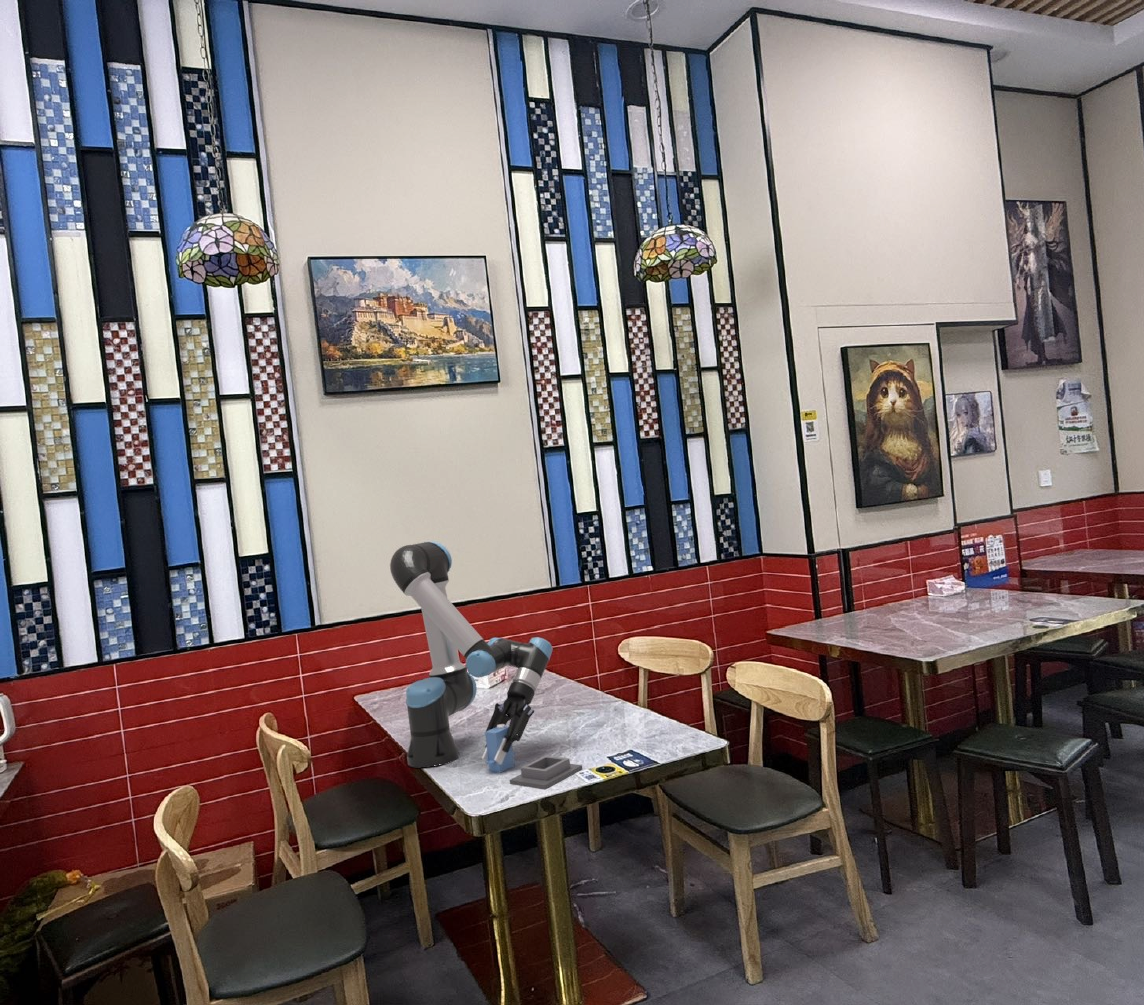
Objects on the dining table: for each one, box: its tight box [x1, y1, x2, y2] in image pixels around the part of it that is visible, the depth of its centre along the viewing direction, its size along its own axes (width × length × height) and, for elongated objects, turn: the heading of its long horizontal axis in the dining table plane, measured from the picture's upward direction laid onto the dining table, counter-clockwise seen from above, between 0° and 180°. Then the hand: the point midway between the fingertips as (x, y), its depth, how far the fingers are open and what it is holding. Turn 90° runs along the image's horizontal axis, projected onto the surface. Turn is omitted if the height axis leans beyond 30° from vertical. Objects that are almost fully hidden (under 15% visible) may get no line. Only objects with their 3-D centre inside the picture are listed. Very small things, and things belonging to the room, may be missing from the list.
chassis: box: [509, 755, 583, 790], centre depth 221 cm, size 16×12×4 cm
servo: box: [484, 724, 516, 774], centre depth 232 cm, size 10×4×12 cm, turn 143°
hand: (491, 761), depth 229 cm, fingers closed on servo, 4 cm apart
